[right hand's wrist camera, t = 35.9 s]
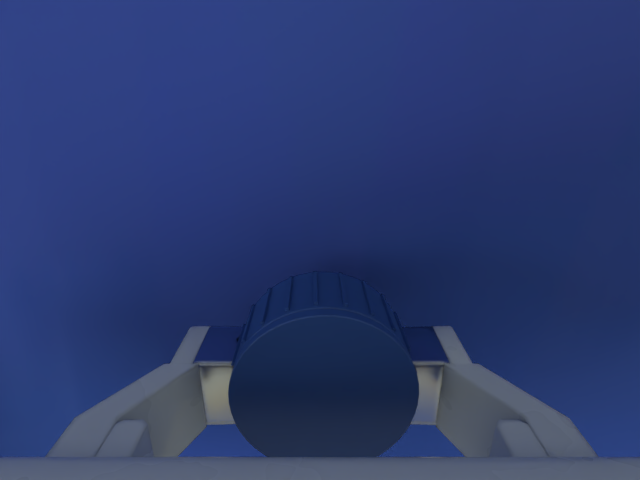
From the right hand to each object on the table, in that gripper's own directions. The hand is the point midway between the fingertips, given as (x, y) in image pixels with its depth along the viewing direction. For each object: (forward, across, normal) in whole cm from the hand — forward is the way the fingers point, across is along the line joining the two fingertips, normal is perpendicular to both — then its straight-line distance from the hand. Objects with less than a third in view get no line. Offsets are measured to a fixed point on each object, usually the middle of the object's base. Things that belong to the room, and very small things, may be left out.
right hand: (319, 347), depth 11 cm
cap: (-2, 0, 0) cm, 2 cm away
